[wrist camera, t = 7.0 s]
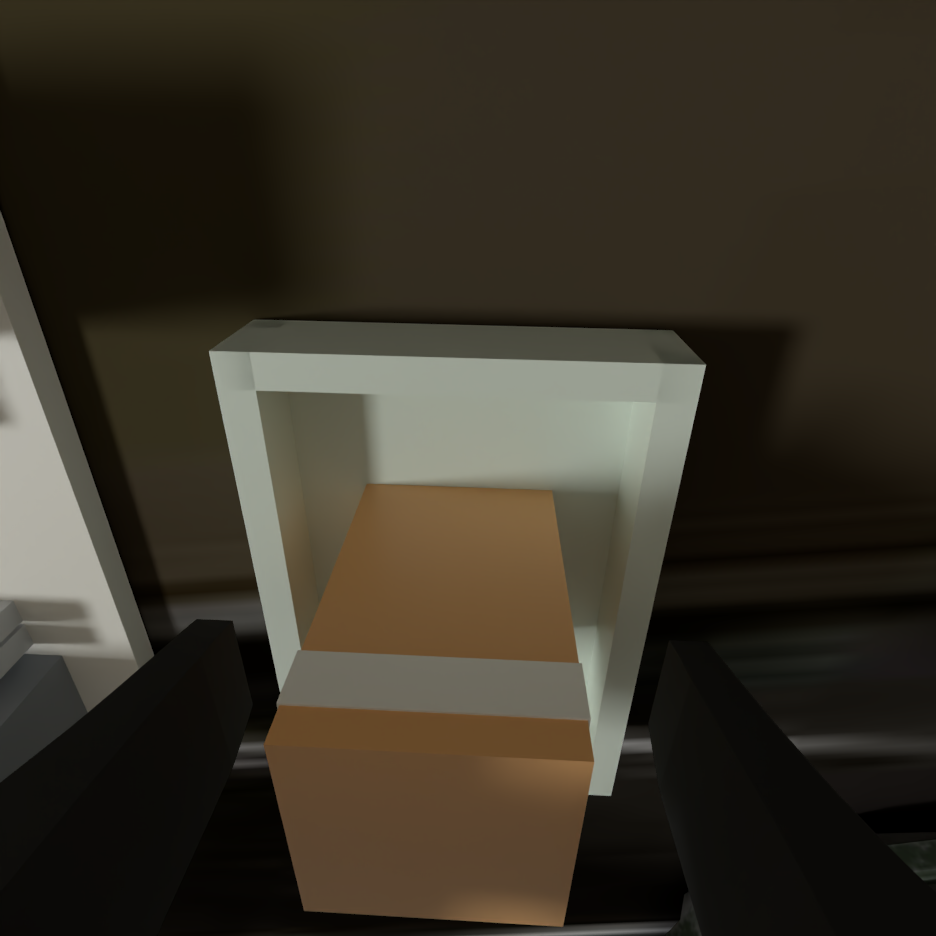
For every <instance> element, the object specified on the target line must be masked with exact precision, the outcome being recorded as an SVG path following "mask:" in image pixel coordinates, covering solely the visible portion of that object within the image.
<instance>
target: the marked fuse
mask: <svg viewBox="0 0 936 936" xmlns="http://www.w3.org/2000/svg"><path fill="white" fill-rule="evenodd" d="M276 704H277V709H278V710H277V712H276V715H275V717H274V720H273V722H272V725H271V727H270V730H269V732H268V735H267V737H266V740H265V743H264V748H265V752H266V757H267V761H268V765H269V769H270V773H271V777H272V781H273V785H274V789H275V794H276V798H277V802H278V806H279V810H280V814H281V818H282V822H283V826H284V830H285V835H286V839H287V843H288V847H289V851H290V855H291V859H292V863H293V867H294V872H295V876H296V880H297V884H298V888H299V892H300V896H301V900H302V904H303V909H304V911H315V912H331V913H347V914H363V915H380V916H396V917H412V918H428V919H444V920H461V921H477V922H493V923H509V924H525V925H541V926H558V927H563V924H564V919H565V914H566V909H567V903H568V898H569V893H570V888H571V882H572V877H573V872H574V867H575V861H576V856H577V851H578V845H579V840H580V835H581V830H582V824H583V819H584V814H585V809H586V803H587V798H588V793H589V788H590V782H591V777H592V772H593V767H594V756H593V750H592V743H591V737H590V731H589V727H590V721H591V716H590V710H589V704H588V698H587V691H586V685H585V679H584V673H583V667H582V663H579V660H578V654H577V647H576V641H575V635H574V628H573V622H572V615H571V609H570V602H569V596H568V590H567V583H566V577H565V570H564V564H563V558H562V551H561V545H560V538H559V532H558V526H557V519H556V513H555V506H554V500H553V494H552V490H530V489H502V488H474V487H446V486H419V485H391V484H367V485H366V487H365V490H364V492H363V495H362V497H361V500H360V502H359V505H358V507H357V510H356V512H355V515H354V517H353V520H352V523H351V525H350V528H349V530H348V533H347V535H346V538H345V540H344V543H343V545H342V548H341V550H340V553H339V555H338V558H337V560H336V563H335V566H334V568H333V571H332V573H331V576H330V578H329V581H328V583H327V586H326V588H325V591H324V593H323V596H322V598H321V601H320V603H319V606H318V609H317V611H316V614H315V616H314V619H313V621H312V624H311V626H310V629H309V631H308V634H307V636H306V639H305V641H304V644H303V646H302V649H301V650H298V651H297V653H296V656H295V658H294V660H293V663H292V665H291V668H290V670H289V673H288V675H287V678H286V680H285V683H284V685H283V688H282V690H281V693H280V695H279V698H278V700H277V703H276Z"/></svg>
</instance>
